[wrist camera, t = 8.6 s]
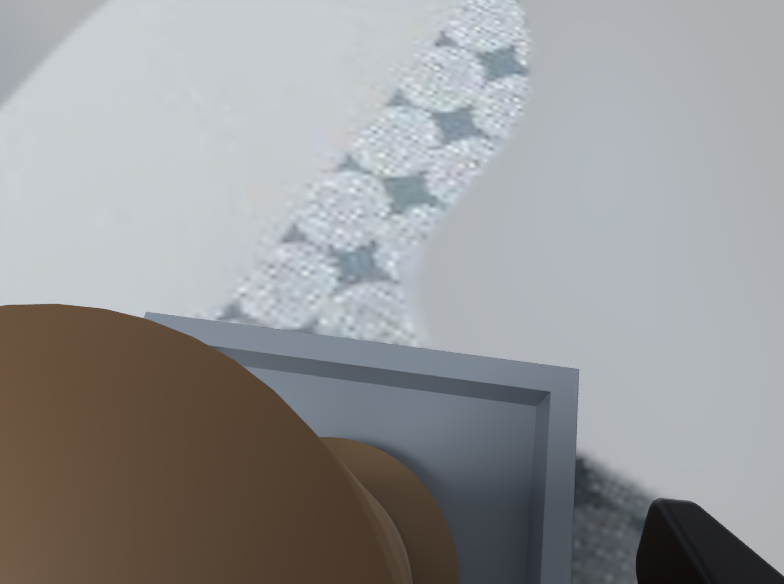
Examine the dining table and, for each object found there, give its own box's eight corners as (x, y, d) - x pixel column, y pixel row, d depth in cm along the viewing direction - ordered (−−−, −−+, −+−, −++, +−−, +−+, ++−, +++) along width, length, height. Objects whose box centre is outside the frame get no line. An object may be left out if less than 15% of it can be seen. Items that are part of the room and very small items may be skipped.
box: (529, 881, 13) (556, 959, 10) (57, 789, 14) (-16, 841, 11) (555, 393, 16) (579, 369, 14) (181, 342, 17) (145, 312, 15)
